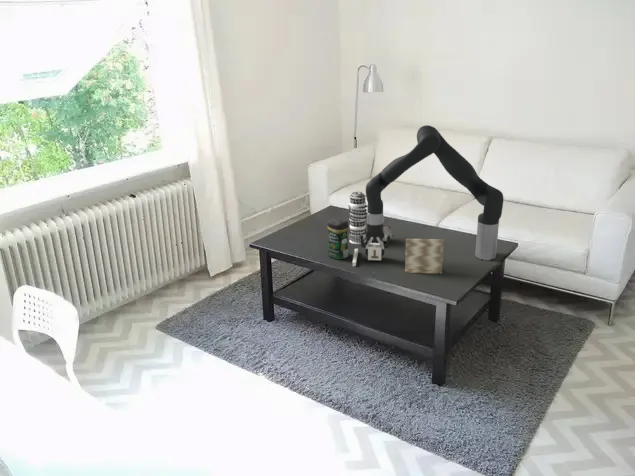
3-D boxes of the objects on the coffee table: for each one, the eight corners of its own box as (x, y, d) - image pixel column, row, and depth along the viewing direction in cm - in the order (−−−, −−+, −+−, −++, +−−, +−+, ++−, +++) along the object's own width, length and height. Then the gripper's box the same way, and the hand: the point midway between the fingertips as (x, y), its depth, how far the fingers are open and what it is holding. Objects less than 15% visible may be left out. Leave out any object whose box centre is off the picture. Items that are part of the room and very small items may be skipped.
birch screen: (405, 272, 264) (406, 240, 258) (404, 268, 268) (405, 237, 262) (442, 273, 262) (443, 241, 256) (441, 269, 266) (443, 238, 260)
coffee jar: (325, 255, 284) (324, 218, 277) (337, 251, 288) (336, 214, 282) (339, 261, 277) (338, 223, 270) (351, 256, 282) (351, 219, 275)
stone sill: (354, 252, 286) (354, 248, 286) (357, 252, 286) (357, 248, 285) (352, 266, 272) (352, 262, 271) (355, 266, 271) (355, 262, 271)
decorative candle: (367, 237, 304) (367, 190, 295) (366, 244, 295) (367, 196, 286) (349, 237, 305) (348, 190, 295) (348, 244, 296) (347, 195, 287)
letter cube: (368, 254, 281) (368, 242, 278) (381, 255, 280) (381, 243, 278) (368, 260, 275) (368, 248, 273) (381, 260, 274) (381, 248, 272)
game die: (387, 247, 300) (400, 232, 297) (380, 247, 293) (393, 232, 290) (375, 236, 304) (387, 221, 301) (368, 235, 296) (380, 220, 293)
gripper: (358, 224, 268) (358, 258, 275) (391, 224, 267) (390, 259, 273) (359, 218, 275) (359, 252, 282) (391, 218, 274) (390, 253, 280)
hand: (374, 255), depth 277 cm, fingers closed on letter cube, 6 cm apart
